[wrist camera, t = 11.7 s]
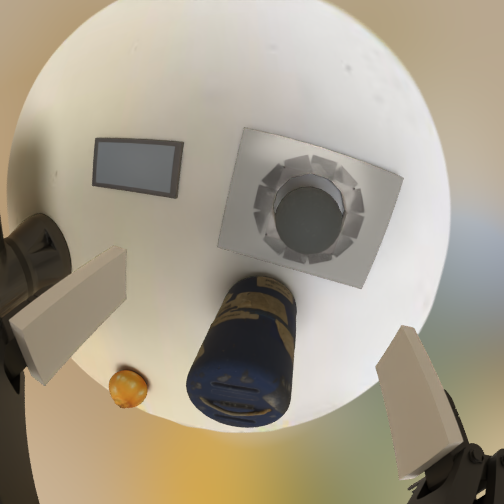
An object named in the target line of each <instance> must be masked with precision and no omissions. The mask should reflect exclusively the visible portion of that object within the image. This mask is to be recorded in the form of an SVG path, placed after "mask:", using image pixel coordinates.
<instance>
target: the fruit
mask: <svg viewBox="0 0 504 504" xmlns="http://www.w3.org/2000/svg"><path fill="white" fill-rule="evenodd" d="M109 391H110V394H111V397H112V398H113V400H114V401H115V404H117V405H118V406H119V407H120V408H132V407H136V406H138V405H139V404H141V403H142V402H143V401H144V399H145V398H146V395H147V385H146V383H145V381H144V379H143V378H142V377H141V376H139V375H138V374H136V373H135V372H132V371H129V370H123V371H119V372H117V373H115V374H114V375H113V376H112V377H111V379H110V381H109Z"/></svg>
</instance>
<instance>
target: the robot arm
mask: <svg viewBox="0 0 504 504" xmlns="http://www.w3.org/2000/svg"><path fill="white" fill-rule="evenodd" d="M126 256H127V250H126V249H123V248H120V247H117V246H112V247H111V248H109V249H108V250H106V251H104V252H103V253H101V254H100V255H98V256H97V257H95V258H94V259H92V260H90V261H89V262H87V263H86V264H84V265H83V266H81V267H80V268H78V269H77V270H76V271H74V272H73V273H71V261H70V255H69V251H68V248H67V245H66V242H65V240H64V237H63V235H62V233H61V232H60V230H59V228H58V227H57V225H56V224H55V223H54V222H53V221H52V220H51V219H50V218H49V217H48V216H46V215H44V214H36V215H33V216H31V217H28V218H27V219H25V220H24V221H23V222H22V223H21V224H20V225H19V226H18V227H17V228H16V229H15V230H14V231H13V232H12V233H11V234H10V235H9V236H8V237H7V238H3V232H2V224H1V217H0V504H39V500H38V496H37V492H36V488H35V484H34V480H33V475H32V469H31V464H30V458H29V452H28V444H27V435H26V423H25V397H24V396H25V393H24V391H25V390H24V389H25V387H24V386H25V375H24V372H23V370H24V369H25V367H26V366H27V367H28V369H29V371H30V373H31V376H32V377H34V378H35V379H36V380H37V381H39V382H40V383H41V384H43V385H44V386H46V384H47V383H48V382H49V381H50V380H51V379H52V377H53V376H54V375H55V374H56V373H57V372H58V370H59V369H60V368H61V367H62V366H63V365H64V364H65V363H66V362H67V361H68V359H69V358H70V357H71V356H72V355H73V354H74V353H75V352H76V351H77V350H78V348H79V347H80V346H81V345H82V344H83V343H84V342H85V341H86V340H87V339H88V338H89V337H90V336H91V335H92V334H93V332H94V331H95V330H96V329H97V328H98V327H99V326H100V325H101V324H102V323H103V322H104V321H105V320H106V319H107V318H108V317H109V316H110V315H111V314H112V313H113V312H114V311H115V310H116V309H117V308H118V307H119V306H120V305H121V304H122V303H123V302H124V301H125V300H126ZM376 371H377V374H378V378H379V382H380V386H381V390H382V394H383V398H384V402H385V406H386V410H387V415H388V419H389V424H390V429H391V434H392V439H393V444H394V450H395V455H396V462H397V468H398V474H399V480H404V479H412V478H415V477H417V476H418V475H420V474H421V473H423V472H424V471H425V475H426V476H425V477H424V478H422V479H421V480H419V481H418V482H416V483H414V484H413V485H411V486H410V487H409V488H408V490H411V489H413V488H414V487H416V486H417V488H416V489H415V490H414V491H412V492H413V495H412V497H411V498H410V500H409V502H408V503H407V504H504V449H500V450H499V451H497V452H496V453H495V454H494V455H493V456H489V455H484V452H483V450H482V448H481V447H480V446H479V445H477V444H474V443H470V444H469V442H468V439H467V436H466V433H465V430H464V428H463V425H462V422H461V420H460V417H458V415H459V414H458V412H457V409H455V405H454V402H453V400H452V398H451V397H450V395H449V394H448V393H447V391H446V390H445V389H443V387H442V384H441V382H440V380H439V378H438V376H437V373H436V371H435V369H434V367H433V365H432V363H431V361H430V359H429V356H428V355H427V353H426V351H425V348H424V346H423V344H422V343H421V341H420V339H419V337H418V335H417V333H416V331H415V329H414V328H413V327H408V326H404V325H401V327H400V329H399V330H398V332H397V334H396V335H395V337H394V339H393V340H392V342H391V344H390V345H389V347H388V348H387V350H386V351H385V353H384V355H383V356H382V358H381V359H380V361H379V362H378V364H377V365H376ZM484 489H486V493H485V495H484V496H482V497H481V498H479V499H476V495H477V494H478V493H480V492H481V491H483V490H484Z"/></svg>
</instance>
